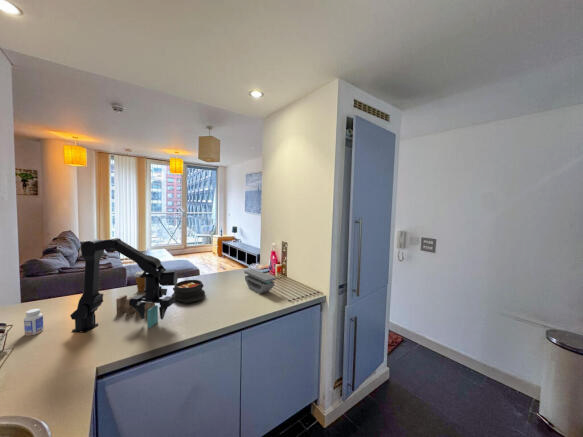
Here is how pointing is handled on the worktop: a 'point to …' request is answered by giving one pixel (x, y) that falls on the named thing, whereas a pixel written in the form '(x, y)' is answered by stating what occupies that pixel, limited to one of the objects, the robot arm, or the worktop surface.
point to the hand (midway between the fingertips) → (152, 318)
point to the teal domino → (152, 315)
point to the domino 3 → (148, 307)
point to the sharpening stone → (259, 281)
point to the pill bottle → (33, 322)
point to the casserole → (188, 291)
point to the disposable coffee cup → (140, 281)
